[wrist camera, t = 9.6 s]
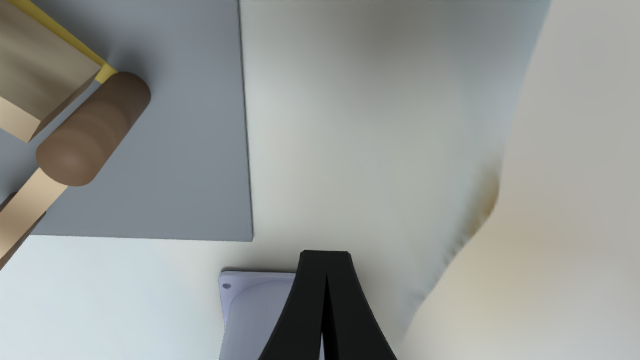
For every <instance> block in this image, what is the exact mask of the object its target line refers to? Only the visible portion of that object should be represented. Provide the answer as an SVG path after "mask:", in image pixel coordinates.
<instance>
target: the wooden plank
mask: <svg viewBox="0 0 640 360" xmlns="http://www.w3.org/2000/svg"><path fill="white" fill-rule="evenodd" d="M101 68H102V67H101V66H100V65H98V64H97V63H95V62H94V61H92V60H91V59H90V58H88V57H87V56H85V55H84V54H82V53H81V52H80V51H78V50H77V49H75V48H74V47H73V46H71V45H70V44H68V43H67V42H65V41H64V40H63V39H61V38H60V37H58V36H57V35H55V34H54V33H53V32H51V31H50V30H48V29H47V28H45V27H44V26H43V25H41V24H40V23H38V22H37V21H35V20H34V19H33V18H31V17H30V16H28V15H27V14H25V13H24V12H23V11H21V10H20V9H18V8H17V7H15V6H14V5H13V4H11V3H10V2H8V1H7V0H0V128H2V129H3V130H5V131H7V132H8V133H10V134H12V135H14V136H15V137H17V138H19V139H20V140H22V141H24V142H26V143H29V142H30V141H31V140H32V139H33V138H34V137H35V136H36V135H37V134H38V133H39V132H40V131H42V130H43V129H44V128H45V127H46V126H47V125H48V124H49V123H50V122H51V121H52V120H53V119H55V118H56V117H57V116H58V115H59V114H60V113H61V112H62V111H63V110H64V109H65V108H67V107H68V106H69V105H70V104H71V103H72V102H73V101H74V100H75V99H76V98H77V97H78V96H80V95H81V94H82V93H83V92H84V91H85V90H86V89H87V88H88V87H89V86H90V85H91V83H92V82H93V80H94V79H95V77H96V76H97V74H98V72H99V71H100V69H101Z"/></svg>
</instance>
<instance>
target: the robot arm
mask: <svg viewBox="0 0 640 360" xmlns="http://www.w3.org/2000/svg"><path fill="white" fill-rule="evenodd" d="M218 281H219V288H220V295H221V303H222V310H223V317H224V325H225V332H224V336H223V341H222V346H221V351H220V356H219V360H397V358H396V357H395V355H394V353H393V351H392V350H391V348H390V346H389V344H388V342H387V341H386V339H385V337H384V335H383V333H382V331H381V329H380V327H379V325H378V323H377V322H376V320H375V317H374V315H373V313H372V311H371V309H370V307H369V304H368V302H367V300H366V298H365V295H364V293H363V291H362V288H361V286H360V283H359V280H358V278H357V275H356V272H355V269H354V266H353V262H352V258H351V254H349V253H348V252H347V251H318V250H304V251H302V252H301V253H300V259H299V264H298V268H297V272H296V273H273V272H240V271H223V272H221V273H220V275H219V279H218ZM226 283H228V284H226Z"/></svg>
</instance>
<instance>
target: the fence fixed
mask: <svg viewBox="0 0 640 360" xmlns="http://www.w3.org/2000/svg"><path fill="white" fill-rule="evenodd" d="M150 100H151V93H150V90H149V87H148V86H147V84H146V83H145V82H144V81H143V80H142V79H141V78H140V77H139V76H137V75H135V74H133V73H130V72H118V73H115V74H113V75H111V76H110V77H109V78H108V79H107V80H106V81H105V82H104V83H103V84H102V85H101V86H100V87H99V88H98V89H97V90H96V91H95V92H94V93H93V94H91V95H90V96H89V97H88V98H87V99H86V100H85V101H84V102H83V103H82V104H81V105H80V106H79V107H78V108H77V109H76V110H75V111H74V112H73V113H72V114H71V115H70V116H69V117H68V118H67V119H66V120H65V121H64V122H63V123H61V124H60V125H59V126H58V127H57V128H56V129H55V130H54V131H53V132H52V133H51V134H50V135H49V136H48V137H47V138H46V139H45V140H44V141H43V142H42V143H41V144H40V145H39V146H38V147H37V150H36V160H37V163H38V165H39V168H38V169H37V170H36V172H35V173H34V174H33V175H32V176H31V177H30V179H29V180H28V181H27V182H26V183H25V184H24V186H23V187H22V188H21V189H20V190H19V191H18V192H14V193H12V194H10V195H9V196H8V197H7V198H6V199H5V200H4V201H3V202H2V203H1V204H0V270H1V269H2V268H3V267H4V265H5V264H6V263H7V262H8V260H9V259H10V258H11V257H12V255H13V254H14V253H15V252H16V251H17V249H18V248H19V247H20V246H21V244H22V243H23V242H24V241H25V239H26V238H27V237H28V236H29V234H30V233H31V232H32V231H33V229H34V228H35V227H36V226H37V224H38V223H39V222H40V221H41V219H42V218H43V217H44V216H45V214H46V210H47V209H48V208H49V206H50V205H51V204H52V203H53V202H54V201H55V200H56V199H57V198H58V197H59V196H60V195H61V194H62V193H63V191H64V190H65V189H66V188H67V187H68V186H74V187H78V186H84V185H87V184H88V183H90V182H91V181H92V180H93V179H94V178H95V176H96V175H97V174H98V172H99V171H100V170H101V168H102V167H103V166H104V164H105V163H106V162H107V160H108V159H109V158H110V156H111V155H112V154H113V152H114V151H115V149H116V148H117V147H118V145H119V144H120V143H121V141H122V140H123V139H124V137H125V136H126V135H127V133H128V132H129V131H130V129H131V128H132V127H133V125H134V124H135V122H136V121H137V120H138V118H139V117H140V116H141V114H142V113H143V112H144V110H145V109H146V108H147V106H148V105H149V103H150Z"/></svg>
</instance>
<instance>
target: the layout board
mask: <svg viewBox="0 0 640 360" xmlns="http://www.w3.org/2000/svg"><path fill="white" fill-rule="evenodd" d="M7 1H8V2H10V3H11V4H13V5H14V6H15V7H17V8H18V9H20V10H21V11H23V12H24V13H25V14H27V15H28V16H30V17H31V18H33V19H34V20H35V21H37V22H38V23H40V24H41V25H43V26H44V27H45V28H47V29H48V30H50V31H51V32H53V33H54V34H55V35H57V36H58V37H60V38H61V39H63V40H64V41H65V42H67V43H68V44H70V45H71V46H73V47H74V48H75V49H77V50H78V51H80V52H81V53H82V54H84V55H85V56H87V57H88V58H90V59H91V60H92V61H94V62H95V63H97V64H98V65H100V66H101V67H102V68H101V69H100V71H99V72H98V74H97V76H96V77H95V79H94V80H93V82H92V83H91V85H90V86H89V87H88V88H87V89H86V90H85V91H84V92H83V93H82V94H81V95H80V96H78V97H77V98H76V99H75V100H74V101H73V102H72V103H71V104H70V105H69V106H68V107H67V108H65V109H64V110H63V111H62V112H61V113H60V114H59V115H58V116H57V117H56V118H55V119H53V120H52V121H51V122H50V123H49V124H48V125H47V126H46V127H45V128H44V129H43V130H42V131H40V132H39V133H38V134H37V135H36V136H35V137H34V138H33V139H32V140H31V141H30V142H29V143H26V142H24V141H22V140H20V139H19V138H17V137H15V136H14V135H12V134H10V133H8V132H7V131H5V130H3V129H2V128H0V204H1V203H2V202H3V201H4V200H5V199H6V198H7V197H8V196H9V195H10V194H12V193H14V192H18V191H19V190H20V189H21V188H22V187H23V186H24V184H25V183H26V182H27V181H28V180H29V179H30V177H31V176H32V175H33V174H34V173H35V172H36V170H37V169H38V168H39V165H38V163H37V160H36V150H37V147H38V146H39V145H40V144H41V143H42V142H43V141H44V140H45V139H46V138H47V137H48V136H49V135H50V134H51V133H52V132H53V131H54V130H55V129H56V128H57V127H58V126H59V125H60V124H61V123H63V122H64V121H65V120H66V119H67V118H68V117H69V116H70V115H71V114H72V113H73V112H74V111H75V110H76V109H77V108H78V107H79V106H80V105H81V104H82V103H83V102H84V101H85V100H86V99H87V98H88V97H89V96H90V95H91V94H93V93H94V92H95V91H96V90H97V89H98V88H99V87H100V86H101V85H102V84H103V83H104V82H105V81H106V80H107V79H108V78H109V77H110V76H111V75H113V74H115V73H118V72H130V73H133V74H135V75H137V76H139V77H140V78H141V79H142V80H143V81H144V82H145V83H146V84H147V86H148V87H149V90H150V93H151V100H150V103H149V105H148V106H147V108H146V109H145V110H144V112H143V113H142V114H141V116H140V117H139V118H138V120H137V121H136V122H135V124H134V125H133V127H132V128H131V129H130V131H129V132H128V133H127V135H126V136H125V137H124V139H123V140H122V141H121V143H120V144H119V145H118V147H117V148H116V149H115V151H114V152H113V154H112V155H111V156H110V158H109V159H108V160H107V162H106V163H105V164H104V166H103V167H102V168H101V170H100V171H99V172H98V174H97V175H96V176H95V178H94V179H93V180H92V181H91V182H90V183H88V184H87V185H84V186H78V187H74V186H68V187H67V188H66V189H65V190H64V191H63V193H62V194H61V195H60V196H59V197H58V198H57V199H56V200H55V201H54V202H53V203H52V204H51V205H50V206H49V208H48V209H47V210H46V214H45V216H44V217H43V218H42V219H41V221H40V222H39V223H38V224H37V226H36V227H35V228H34V229H33V231H32V232H31V233H30V234H29V235H56V236H87V237H118V238H149V239H180V240H211V241H242V242H252V239H253V231H252V215H251V199H250V183H249V167H248V151H247V135H246V120H245V104H244V88H243V72H242V56H241V40H240V24H239V8H238V0H7Z"/></svg>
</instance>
